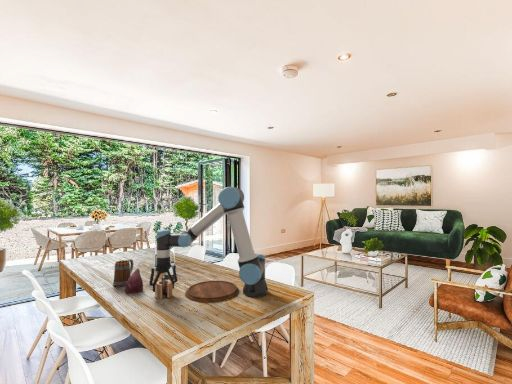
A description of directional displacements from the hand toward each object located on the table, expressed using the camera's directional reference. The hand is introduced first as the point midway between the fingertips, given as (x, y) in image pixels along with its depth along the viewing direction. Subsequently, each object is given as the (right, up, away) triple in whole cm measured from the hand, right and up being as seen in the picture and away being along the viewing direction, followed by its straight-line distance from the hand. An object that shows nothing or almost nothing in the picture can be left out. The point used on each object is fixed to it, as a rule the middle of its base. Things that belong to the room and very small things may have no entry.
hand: (163, 295), depth 155 cm
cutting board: (+27, -1, +6) cm, 28 cm away
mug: (-34, -1, +23) cm, 41 cm away
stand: (0, 0, 0) cm, 0 cm away
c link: (0, 0, 0) cm, 0 cm away
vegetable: (-21, -1, +9) cm, 23 cm away
